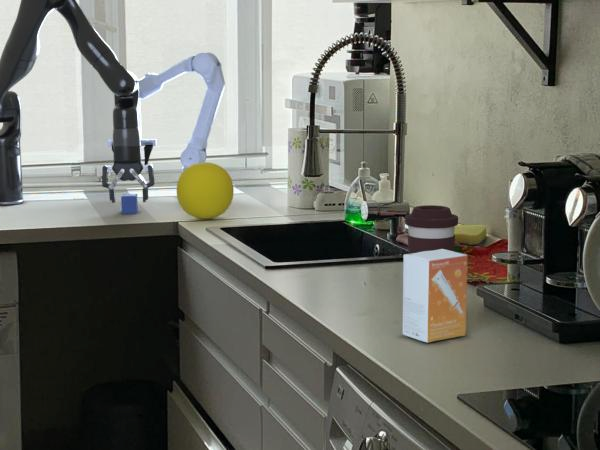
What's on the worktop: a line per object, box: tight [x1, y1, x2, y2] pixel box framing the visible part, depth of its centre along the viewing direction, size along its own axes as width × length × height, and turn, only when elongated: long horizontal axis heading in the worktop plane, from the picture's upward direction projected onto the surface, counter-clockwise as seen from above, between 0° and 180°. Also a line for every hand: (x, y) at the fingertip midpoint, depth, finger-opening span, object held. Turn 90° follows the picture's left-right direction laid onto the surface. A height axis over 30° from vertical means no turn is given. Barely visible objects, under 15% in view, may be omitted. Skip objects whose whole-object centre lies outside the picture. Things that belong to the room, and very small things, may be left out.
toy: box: [176, 161, 235, 220], centre depth 278 cm, size 15×15×15 cm
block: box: [120, 193, 139, 215], centre depth 292 cm, size 4×4×5 cm
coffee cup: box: [404, 204, 459, 254], centre depth 197 cm, size 10×10×15 cm
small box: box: [402, 249, 469, 344], centre depth 163 cm, size 8×6×13 cm
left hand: (129, 202), depth 291 cm, fingers open, 8 cm apart
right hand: (133, 169), depth 321 cm, fingers open, 7 cm apart
